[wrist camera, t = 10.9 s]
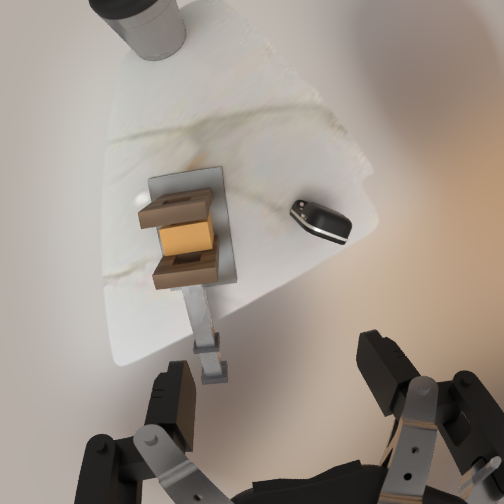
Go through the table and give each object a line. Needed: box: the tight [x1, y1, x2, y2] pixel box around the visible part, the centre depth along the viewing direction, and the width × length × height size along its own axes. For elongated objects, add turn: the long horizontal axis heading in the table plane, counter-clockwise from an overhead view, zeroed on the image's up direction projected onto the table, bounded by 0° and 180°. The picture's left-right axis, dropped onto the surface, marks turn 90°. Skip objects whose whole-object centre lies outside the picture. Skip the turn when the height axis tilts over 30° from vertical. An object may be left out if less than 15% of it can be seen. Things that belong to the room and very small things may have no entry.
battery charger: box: [290, 200, 352, 245], centre depth 41 cm, size 7×4×11 cm, turn 71°
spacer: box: [159, 211, 214, 256], centre depth 41 cm, size 4×7×7 cm, turn 97°
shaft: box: [181, 261, 228, 385], centre depth 41 cm, size 21×4×4 cm, turn 6°
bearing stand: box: [138, 167, 237, 291], centre depth 39 cm, size 20×12×14 cm, turn 6°
